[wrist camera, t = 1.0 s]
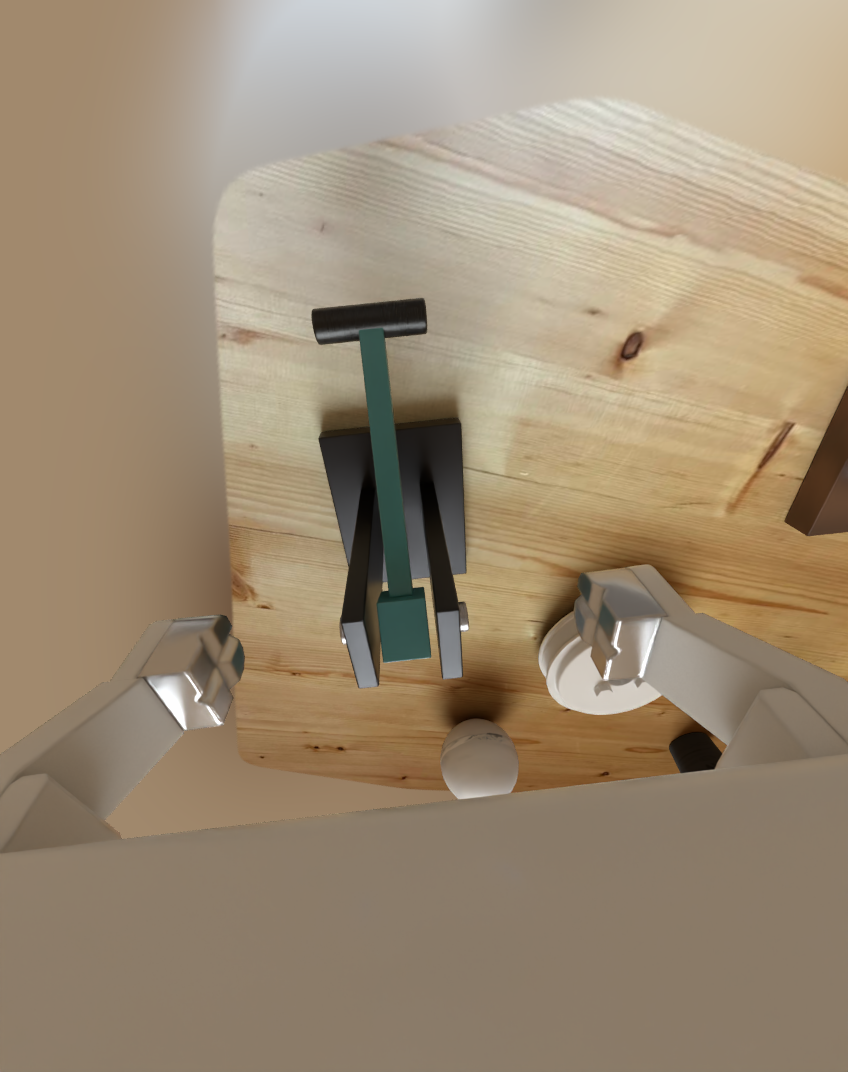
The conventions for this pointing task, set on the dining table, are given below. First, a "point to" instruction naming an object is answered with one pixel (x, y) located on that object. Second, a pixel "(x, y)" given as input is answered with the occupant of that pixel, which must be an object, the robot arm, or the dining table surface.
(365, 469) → the bracket
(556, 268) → the dining table surface
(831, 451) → the button block
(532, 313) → the dining table surface
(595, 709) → the lid
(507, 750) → the bath bomb
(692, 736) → the drinking cup
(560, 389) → the dining table surface
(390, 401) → the lever
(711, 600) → the dining table surface
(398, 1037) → the robot arm
